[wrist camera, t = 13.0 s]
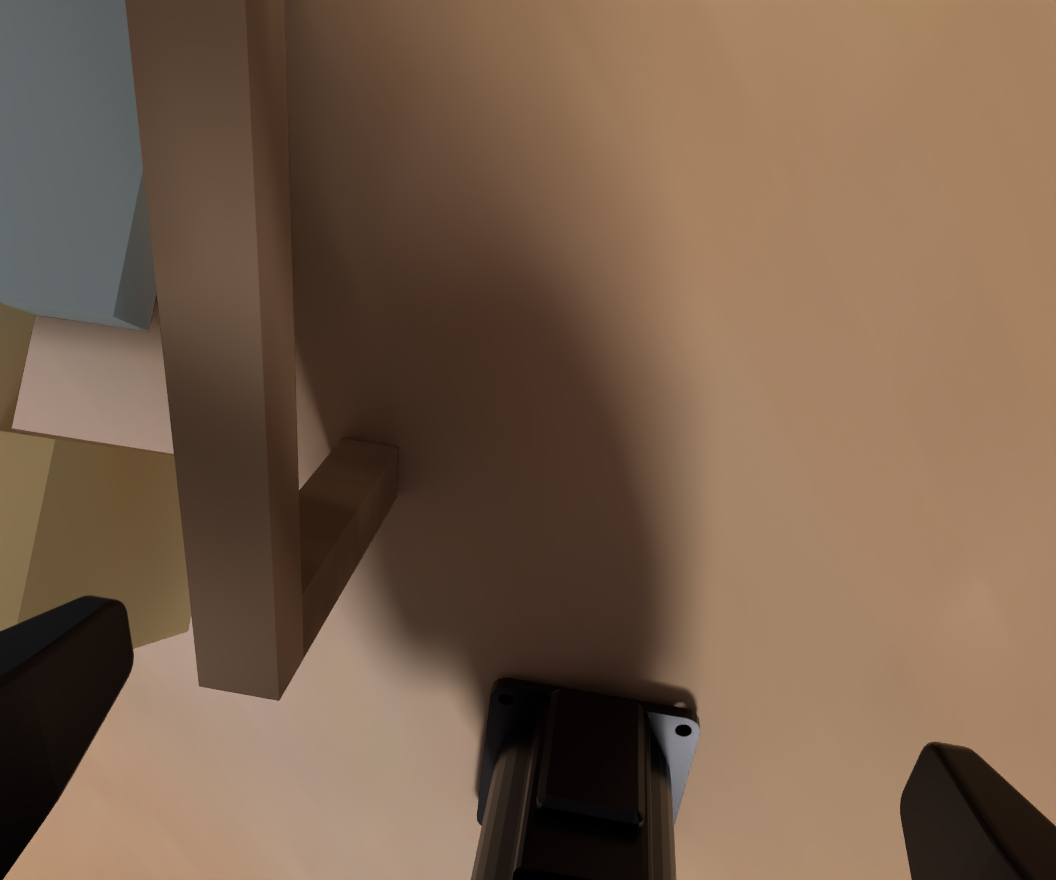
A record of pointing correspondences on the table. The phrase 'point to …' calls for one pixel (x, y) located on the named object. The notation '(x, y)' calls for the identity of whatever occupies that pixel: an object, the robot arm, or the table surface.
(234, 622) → the frame
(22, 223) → the trapdoor
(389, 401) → the table surface
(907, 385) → the table surface
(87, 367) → the table surface
